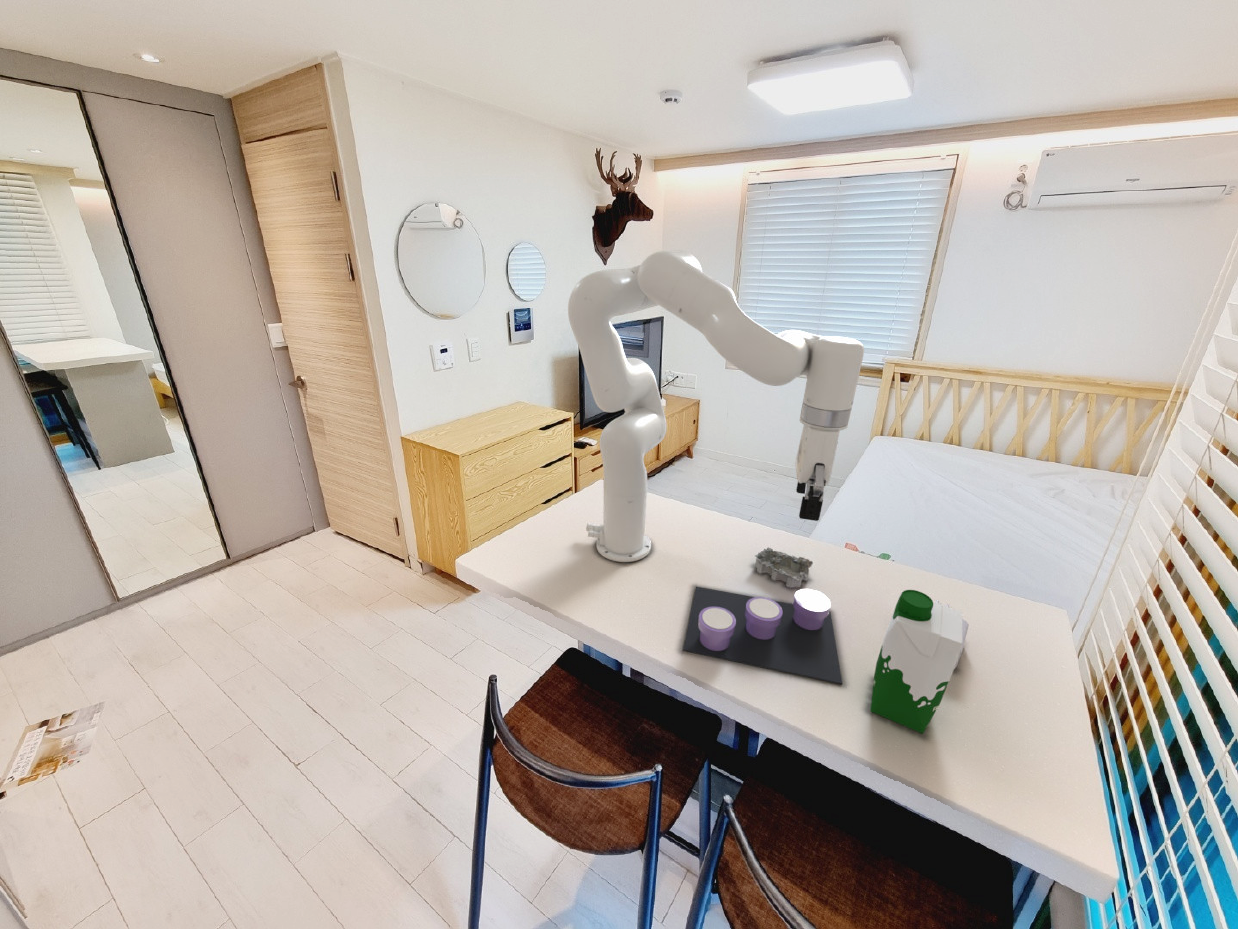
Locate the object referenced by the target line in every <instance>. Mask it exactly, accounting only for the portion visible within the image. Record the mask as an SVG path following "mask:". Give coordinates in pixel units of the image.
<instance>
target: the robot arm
mask: <svg viewBox="0 0 1238 929" xmlns="http://www.w3.org/2000/svg"><path fill="white" fill-rule="evenodd" d="M657 306H659V307H661V308H662V309H664V310H666V311H668V312H669V313H671V314H673V315H674V316H676V317H677V318H678V319H680V320H682V321H683V322H685V323H686V324H688V326H691V327H692V328H694V329H695V330H697V331H698V332H700V333H701V334H702V335H703V336H704V338H705V339H706V341H707V342H708V343H709V344H710V345H711V347H713V348H714V350H715V351H716V353H718V354H719V355H720V356H721V357H722V358H723V359H724V360H726V361H727V362H728V363H729V364H731V365H733V367H735V368H737V369H738V370H740V371H742V372H743V373H745V374H746V375H748V377H751V378H752V379H754V380H755V381H757V382H760V383H762V384H764V385H767V386H772V387H780V386H785V385H788V384H790V383H791V382H793V381H794V380H795V379H797V377H800V376H806V382H805V389H804V394H803V399H802V405H801V409H800V415H799V422H800V423H801V424H802V425H803V427H802V429H801V430H802V431H801V435H800V440H799V445H798V449H797V454H796V458H795V463H794V464H795V465H794V466H795V474H796V480H797V484H796V489H795V491H796V493H797V494H803V496H802V499H801V503H800V508H799V513H798V517H799V519H801V520H806V521H815V522H819V521H820V517H821V512H822V508H823V503H824V493H825V487H826V486H828V485H829V483H830V481H831V476H832V474H833V473H832V472H833V468H834V463H835V460H836V459H835V458H836V454H837V448H838V444H839V437H840V431H844V430H847V428H848V427H849V422H850V417H851V413H852V408H853V404H854V400H855V395H856V390H857V386H858V382H859V379H860V378H859V377H860V373H861V368H862V365H863V364H862V363H863V359H864V355H865V354H864V353H865V347H864V345H863V343H862V342H861V341H859V340H857V339H854V338H850V337H844V336H823V335H819V334H814V333H809V332H807V331H803V330H797V329H789V330H784V331H782V332H779V333H778V334H776V333H774V332H772V331H770V330H769V329H767V328H765V327H764V326H762V325H761V324H759V323H758V322H756V321H755V320H753V319H752V318H751V317H749V316H748V315H747V314H746V313H745V312H744V310H742V309H741V307H740V306H739V304H738V302H737V299H736V294H735V292H734V291H733V290H732V288H730V286H727V285H725V284H724V283H722V282H721V281H719V280H717V279H715V278H714V277H713V276H711V275H709V274H708V273H706V272H704V271H703V269H702V266H701V264H700V261H698V259H697V257H695V256H694V255H693V254H692V253H690V252H688V251H683V250H659V251H656V252H653V253H651V254H650V255H648V256H647V257H646V258H645V259H644V260H643V261H642V262H641V264H639V265H636V266H632V267H628V268H617V269H603V270H597V271H594V272H591V273H589V274H587V275H585V276H584V277H582V278H581V279H579V281H578V282H577V283H576V284H575V285H574V287H573V288H572V291H571V293H570V295H569V298H568V304H567V315H568V321H569V325H570V328H571V331H572V333H573V336H574V338H575V341H576V344H577V346H578V349H579V352H580V355H581V360H582V364H583V367H584V371H585V374H586V377H587V381H588V384H589V388H590V391H591V394H592V395H591V396H592V398H593V400H594V403H595V404H596V406H597V407H598V408H599V409H600V410H601V411H603V412H605V413H616V412H619V411H622V410H624V413H623V414H622V415H620V416H618V417H616V418H614V419H613V420H611V421H610V422H609V423H607V424H606V426H605V427H604V428H603V429H602V431H601V434H600V436H599V451H600V455H601V461H602V473H603V512H602V513H603V516H602V517H603V521H602V523H601V524H600V525H599V524H595V523H587V524H586V527H585V531H586V532H587V536H588V538H596V539H597V540H596V550H597V552H598V553H599V554H600V555H601V556H602V557H604V558H605V559H607V560H610V561H613V562H617V563H631V562H636V561H639V560H642V559H644V558H645V557H646V556H648V555H649V554H650V553H651V550H652V541H651V539H650V537H649V536H647V535H646V518H647V499H648V495H647V494H648V472H647V468H646V465H645V460H644V459H645V455H646V454H647V453H649V452H650V451H651V450H652V449H654V448H655V447H657V446H658V445H659V444H661V442H662V441H663V440H664V439H665V437H666V434H667V431H668V430H667V429H668V426H667V418H666V414H665V410H664V405H663V403H662V402H663V401H662V397H661V395H660V391H659V387H658V382H657V380H656V376H655V374H654V371H653V370H652V368H651V367H650V366H649V364H647V363H646V362H645V361H644V360H642V359H640V358H636V357H626V353H625V351H624V346H623V342H622V340H621V337H620V335H619V333H618V332H617V330H616V328H615V327H614V326H613V324H612V323H611V320H612V318H613V317H616V316H622V315H623V316H624V315H626V314H633V313H637V312H641V311H644V310H647V309H650V308H655V307H657Z"/></svg>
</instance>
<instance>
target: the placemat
mask: <svg viewBox="0 0 1238 929" xmlns="http://www.w3.org/2000/svg"><path fill="white" fill-rule="evenodd" d="M755 597H756V596H751V595H745V594H739V593H736V592H735V593H734V592H728V591H725V590H724V591H723V590H719V589H712V588H707V587H702V586H695V589H694V594H693V600H692V604H691V608H690V614H689V618H688V623H687V628H686V633H685V638H684V642H683V647H682V651H683V652H687V653H692V654H695V655H696V654H697V655H701V656H705V657H710V658H716V659H720V660H724V661H730V662H734V663H739V664H743V665H749V666H752V667H757V668H762V669H766V670H772V671H776V672H781V673H786V674H791V675H794V676H795V675H796V676H799V677H800V676H801V677H805V678H810V679H813V680H819V681H824V682H828V683H833V684H836V685H837V684H838V685H843V679H842V673H841V672H842V671H841V668H840V667H841V666H840V661H839V655H838V648H837V643H836V636H835V630H834V626H833V624H834V623H833V619H832V613H831V610H830V611H829V614H828V616H827V617H825V619H824V623H823V626H822V627H821V628H820V629H818V630H808V629H804V628H802V627H800V626H799V625H797V624H796V623H795V621H794V619H793V613H794V607H793V603H789V602H785V601H779V600H774V601H775V602H776V603H778V604H779V605H780V607H781V608H782V611H783V614H782V619H781V623H780V624H779V625H778V626H777V629H776V634H775V636H774V637H773V638H771V639H767V640H762V639H758V638H755V637H753V636H752V635H750V634H749V633H748V632H747V630H746V620H747V618H746V616H745V608H746V603H747V601H748V600H750V599H751V598H755ZM707 607H721V608H724V609H726V610H728V611H730V612H731V613H732V614H733V615H734V617H735V619H736V626H735V632H734V634H733V635H732V636H731V640H730V645H729V647H728V648H726V649H725V650H722V651H713V650H710V649H708V648H706V647H704V646H703V645H702V643H701V642H700V638H699V637H700V629H699V627H698V620H699V614H700V612H701V611H702V610H703V609H705V608H707Z"/></svg>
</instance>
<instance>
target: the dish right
mask: <svg viewBox="0 0 1238 929" xmlns="http://www.w3.org/2000/svg"><path fill="white" fill-rule="evenodd" d="M792 604H793V607H794V613H793V619H794V621H795V623H796V624H797V625H799V626H800V627H802V628H804V629H808V630H818V629H820V628H821V627H822V626H823V623H824V619H825V617H827V616H828V614H829V611H830V612H831V607H832V604H831V600H830V599H829V598H828V597H827V596H826V594H824V593H822V592H821V591H818V590H814V589H811V588H801V589H799V590H797V591H795V593H794V595H793V599H792Z"/></svg>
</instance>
